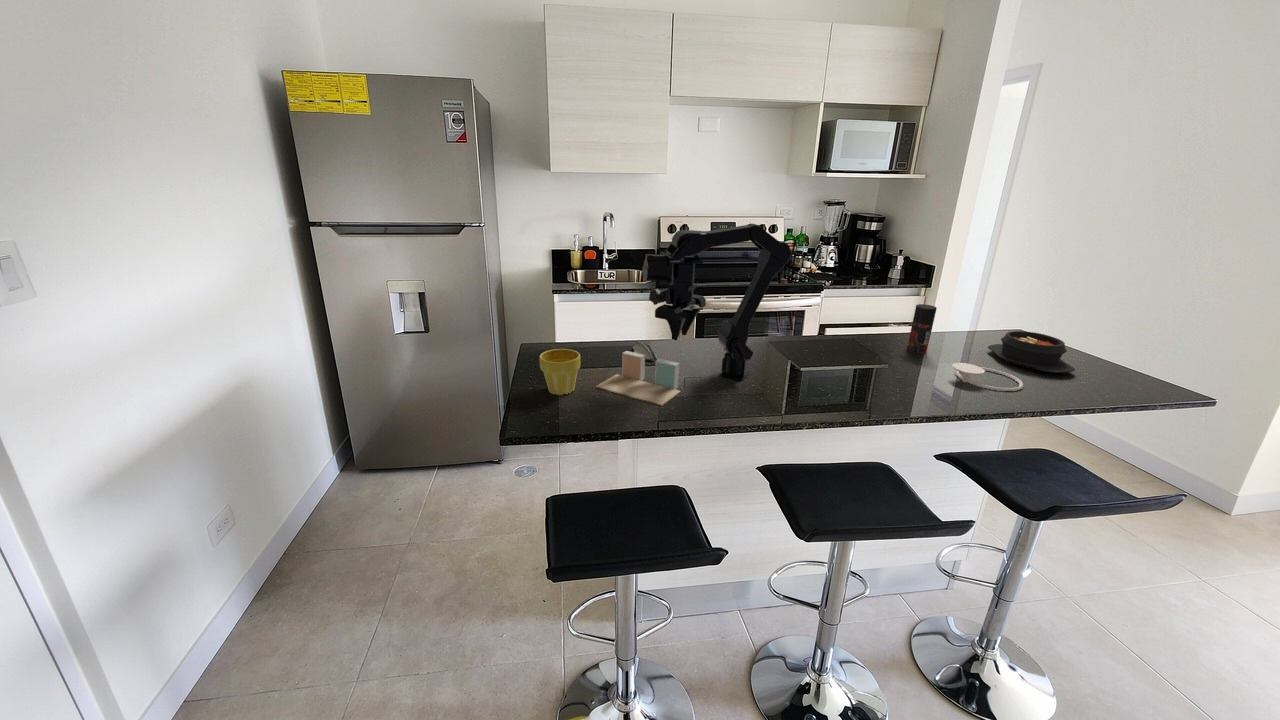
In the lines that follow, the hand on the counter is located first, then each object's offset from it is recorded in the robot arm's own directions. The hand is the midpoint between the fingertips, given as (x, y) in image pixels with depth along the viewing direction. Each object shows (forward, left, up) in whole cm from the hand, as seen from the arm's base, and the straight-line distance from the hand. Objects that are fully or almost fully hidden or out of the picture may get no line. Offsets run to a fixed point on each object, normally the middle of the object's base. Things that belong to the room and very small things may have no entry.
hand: (679, 337), depth 145 cm
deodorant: (-54, -66, -12) cm, 87 cm away
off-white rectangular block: (+11, +7, -12) cm, 17 cm away
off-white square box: (0, +7, -12) cm, 14 cm away
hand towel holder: (-73, -49, -12) cm, 89 cm away
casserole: (-85, -74, -12) cm, 114 cm away
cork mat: (+5, +13, -12) cm, 18 cm away
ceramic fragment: (+18, -11, -13) cm, 25 cm away
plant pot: (+22, +25, -12) cm, 35 cm away
